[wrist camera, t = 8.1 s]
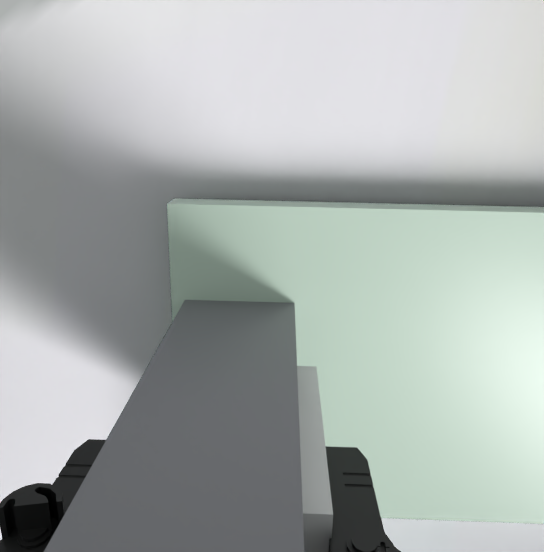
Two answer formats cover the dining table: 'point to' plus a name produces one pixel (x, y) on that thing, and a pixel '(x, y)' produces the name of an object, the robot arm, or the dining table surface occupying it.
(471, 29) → the dining table surface
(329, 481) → the robot arm
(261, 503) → the green platform with post
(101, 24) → the dining table surface
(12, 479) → the dining table surface
